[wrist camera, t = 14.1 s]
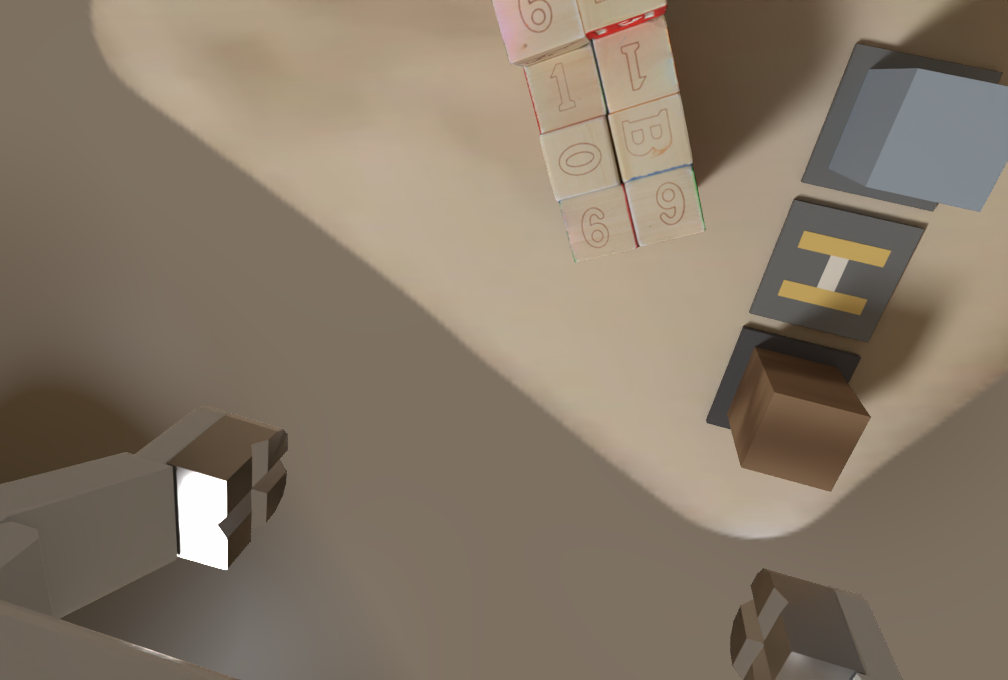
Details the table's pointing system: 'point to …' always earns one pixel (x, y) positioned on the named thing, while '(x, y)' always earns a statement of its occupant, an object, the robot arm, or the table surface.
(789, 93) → the table surface
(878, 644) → the robot arm
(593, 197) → the stack of blocks
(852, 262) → the code tile
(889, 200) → the code tile
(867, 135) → the slate-blue block
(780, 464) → the walnut block
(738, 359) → the rubber mat
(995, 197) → the table surface
